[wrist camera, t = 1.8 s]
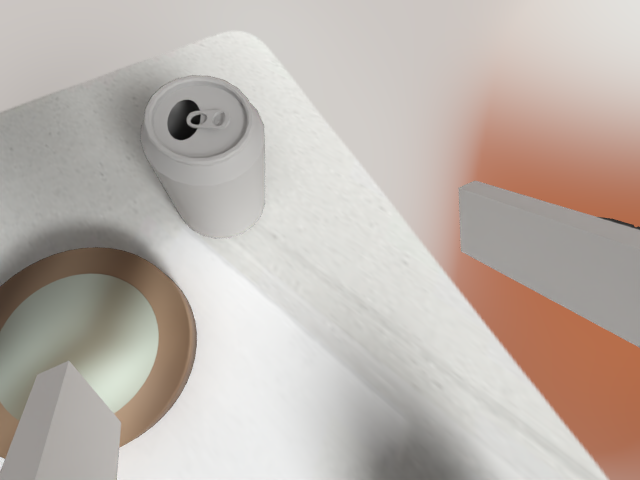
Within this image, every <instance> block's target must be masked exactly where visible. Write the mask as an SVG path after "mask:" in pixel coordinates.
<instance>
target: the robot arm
mask: <svg viewBox="0 0 640 480" xmlns="http://www.w3.org/2000/svg"><path fill="white" fill-rule="evenodd" d="M459 211H460V238H461V251H462V252H464V253H465V254H467V255H469V256H471V257H473V258H474V259H476V260H478V261H480V262H482V263H484V264H486V265H488V266H489V267H491V268H493V269H495V270H497V271H499V272H501V273H502V274H504V275H506V276H508V277H510V278H512V279H513V280H515V281H517V282H519V283H521V284H523V285H525V286H527V287H528V288H530V289H532V290H534V291H536V292H538V293H539V294H541V295H543V296H545V297H547V298H549V299H551V300H552V301H554V302H556V303H558V304H560V305H562V306H564V307H566V308H567V309H569V310H571V311H573V312H575V313H577V314H578V315H580V316H582V317H584V318H586V319H588V320H590V321H591V322H593V323H595V324H597V325H599V326H601V327H603V328H604V329H606V330H608V331H610V332H612V333H614V334H616V335H618V336H619V337H621V338H623V339H625V340H627V341H629V342H630V343H633V344H634V345H636V346H638V347H640V227H634V225H632V224H628V223H624V222H621V221H618V220H614V219H610V218H601V217H595V216H591V215H588V214H585V213H581V212H578V211H575V210H572V209H568V208H565V207H561V206H558V205H555V204H551V203H548V202H545V201H541V200H538V199H535V198H531V197H528V196H525V195H521V194H518V193H515V192H511V191H508V190H505V189H501V188H498V187H494V186H491V185H488V184H485V183H481V182H478V181H473V182H471V183H469V184H466V185H464V186H462V187H460V188H459ZM120 432H121V422H120V420H119V419H118V418H117V417H116V416H115V414H114V413H113V412H112V411H111V410H110V409H109V407H108V406H107V405H106V404H105V403H104V401H103V400H102V399H101V398H100V397H99V396H98V394H97V393H96V392H95V391H94V390H93V388H92V387H91V386H90V385H89V384H88V382H87V381H86V380H85V379H84V378H83V377H82V375H81V374H80V373H79V372H78V371H77V369H76V368H75V367H74V366H73V365H72V364H71V362H70V361H67V362H65V363H62V364H60V365H58V366H56V367H53V368H51V369H49V370H47V371H44V372H42V373H40V374H38V375H37V377H36V379H35V382H34V385H33V387H32V390H31V392H30V395H29V398H28V400H27V403H26V406H25V408H24V411H23V414H22V416H21V419H20V421H19V424H18V427H17V429H16V432H15V435H14V437H13V440H12V442H11V445H10V448H9V450H8V453H7V456H6V458H5V461H4V464H3V466H2V469H1V471H0V480H117V470H118V457H119V444H120Z"/></svg>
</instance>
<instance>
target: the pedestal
mask: <svg viewBox="0 0 640 480" xmlns="http://www.w3.org/2000/svg"><path fill="white" fill-rule="evenodd" d="M196 346H197V332H196V324H195V319H194V316H193V312H192V309H191V307H190V305H189V302H188V300H187V299H186V297H185V295H184V294H183V292H182V291H181V290H180V288H179V287H178V286H177V285H176V284H175V283H174V282H173V281H172V280H171V279H170V278H169V277H168V276H166V275H165V274H164V273H163V272H162V271H161V270H160V269H158V268H157V267H156V266H155V265H153V264H152V263H150V262H149V261H147V260H145V259H143V258H141V257H139V256H137V255H135V254H132V253H129V252H125V251H122V250H117V249H111V248H98V247H95V248H81V249H74V250H69V251H65V252H61V253H58V254H54V255H52V256H49V257H47V258H44V259H42V260H39V261H38V262H36V263H34V264H32V265H30V266H28V267H26V268H25V269H23V270H22V271H20V272H19V273H17V274H15V275H14V276H13V277H12V278H10V279H9V280H8V281H7V282H5V283H4V284H3V285H2V286H1V287H0V457H2V458H4V459H5V458H6V456H7V453H8V450H9V448H10V445H11V442H12V440H13V437H14V435H15V432H16V429H17V427H18V424H19V421H20V419H21V416H22V414H23V411H24V408H25V406H26V403H27V400H28V398H29V395H30V392H31V390H32V387H33V385H34V382H35V379H36V377H37V375H38V374H40V373H42V372H44V371H47V370H49V369H51V368H53V367H56V366H58V365H60V364H62V363H65V362H67V361H70V362H71V364H72V365H73V366H74V367H75V368H76V369H77V371H78V372H79V373H80V374H81V375H82V377H83V378H84V379H85V380H86V381H87V382H88V384H89V385H90V386H91V387H92V388H93V390H94V391H95V392H96V393H97V394H98V396H99V397H100V398H101V399H102V400H103V401H104V403H105V404H106V405H107V406H108V407H109V409H110V410H111V411H112V412H113V413H114V414H115V416H116V417H117V418H118V419H119V420H120V422H121V432H120V444H119V448H120V447H122V446H123V445H125V444H127V443H129V442H130V441H132V440H134V439H135V438H137V437H139V436H140V435H142V434H143V433H144V432H146V431H147V430H149V429H150V428H151V427H152V426H154V425H155V424H156V423H157V422H158V421H159V420H160V419H161V418H162V417H163V416H164V415H165V414H166V413H167V412H168V411H169V409H170V408H171V407H172V406H173V404H174V403H175V402H176V400H177V399H178V397H179V396H180V394H181V392H182V391H183V389H184V387H185V385H186V383H187V381H188V378H189V376H190V373H191V371H192V367H193V363H194V360H195V354H196Z"/></svg>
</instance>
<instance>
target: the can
mask: <svg viewBox="0 0 640 480" xmlns="http://www.w3.org/2000/svg"><path fill="white" fill-rule="evenodd" d="M140 141H141V144H142V147H143V150H144V153H145V156H146V158H147V160H148V161H149V163H150V165H151V167H152V168H153V170H154V172H155V173H156V175H157V177H158V179H159V180H160V182H161V184H162V185H163V187H164V189H165V190H166V192H167V194H168V196H169V197H170V199H171V201H172V202H173V204H174V206H175V208H176V209H177V211H178V213H179V214H180V216H181V218H182V219H183V220H184V221H185V223H186V224H187V225H188V226H189V227H190V228H191V229H193V230H194V231H196V232H197V233H199V234H201V235H203V236H207V237H211V238H215V239H216V238H231V237H234V236H237V235H240V234H243V233H244V232H246V231H247V230H248V229H250V228H251V227H253V226H254V225H255V223H256V222H257V221H258V219H259V218H260V217H261V215H262V212H263V209H264V206H265V135H264V124H263V122H262V120H261V117H260V115H259V113H258V111H257V110H256V109H255V107H254V106H253V105H252V104H251V103H250V102H249V100H248V98H247V97H246V96H245V95H244V94H243V93H242V92H241V91H240V90H239V89H238V88H237V87H235V86H234V85H232V84H230V83H229V82H227V81H225V80H222V79H218V78H215V77H211V76H196V75H192V76H187V77H183V78H178V79H175V80H173V81H171V82H169V83H167V84H165V85H163V86H162V87H161V88H160V89H159V90H158V91H157V92H156V93H155V94H154V95H153V96H151V98H150V100H149V102H148V104H147V106H146V108H145V112H144V120H143V122H142V125H141V138H140Z"/></svg>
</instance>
